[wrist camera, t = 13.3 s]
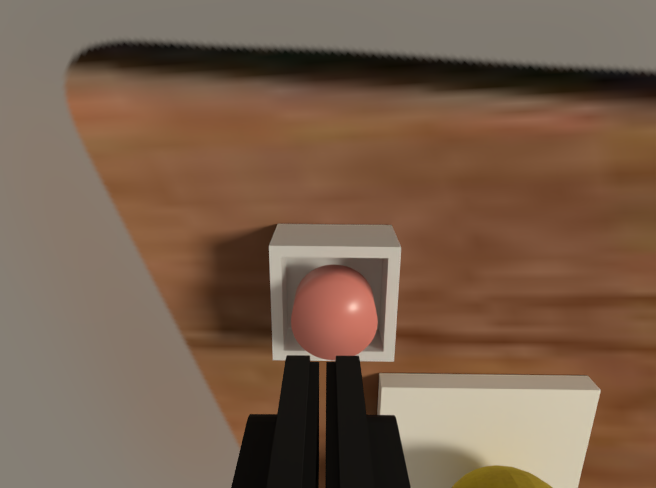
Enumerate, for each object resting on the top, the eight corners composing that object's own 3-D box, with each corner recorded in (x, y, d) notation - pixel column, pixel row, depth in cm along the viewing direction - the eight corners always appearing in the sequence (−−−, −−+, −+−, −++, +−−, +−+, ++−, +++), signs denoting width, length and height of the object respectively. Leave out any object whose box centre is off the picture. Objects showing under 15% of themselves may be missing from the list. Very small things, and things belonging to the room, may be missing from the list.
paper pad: (587, 375, 20) (600, 390, 19) (553, 531, 23) (562, 550, 22) (379, 373, 20) (381, 387, 19) (371, 528, 23) (372, 547, 22)
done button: (375, 264, 16) (379, 283, 14) (371, 336, 17) (375, 360, 15) (294, 264, 16) (290, 282, 14) (295, 335, 17) (291, 359, 15)
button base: (391, 224, 18) (401, 247, 15) (386, 326, 19) (393, 361, 17) (277, 224, 18) (268, 245, 15) (280, 325, 19) (273, 359, 17)
